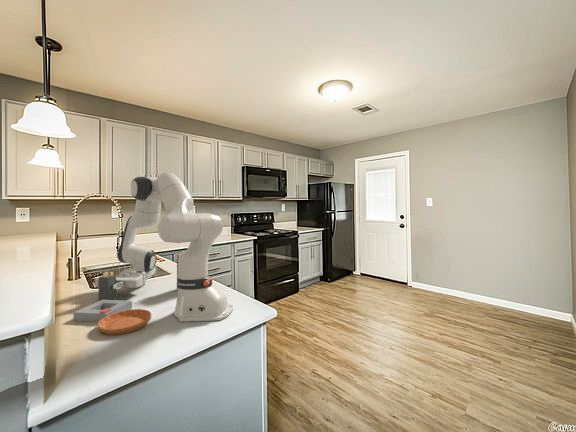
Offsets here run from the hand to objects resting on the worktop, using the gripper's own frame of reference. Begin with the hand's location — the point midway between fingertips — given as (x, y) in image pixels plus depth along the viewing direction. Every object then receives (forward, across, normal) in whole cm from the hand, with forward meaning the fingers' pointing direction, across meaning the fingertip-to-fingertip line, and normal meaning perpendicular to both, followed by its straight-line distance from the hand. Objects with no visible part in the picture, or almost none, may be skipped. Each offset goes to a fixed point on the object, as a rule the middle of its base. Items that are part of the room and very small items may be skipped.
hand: (105, 286), depth 111 cm
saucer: (+19, +24, +8) cm, 31 cm away
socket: (+11, +9, +7) cm, 16 cm away
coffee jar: (-21, +27, +7) cm, 35 cm away
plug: (-1, 0, +6) cm, 6 cm away
